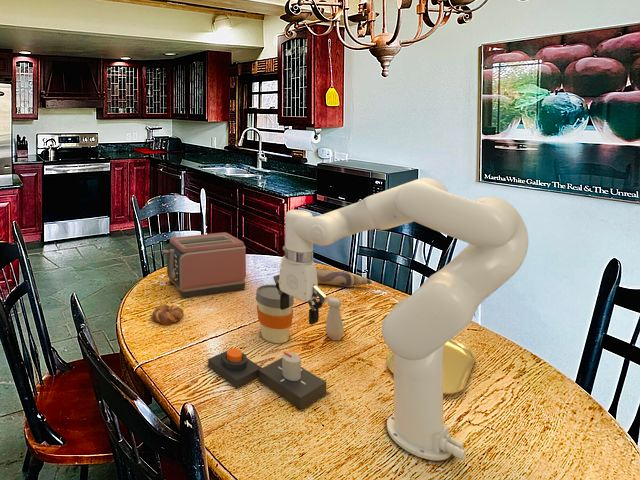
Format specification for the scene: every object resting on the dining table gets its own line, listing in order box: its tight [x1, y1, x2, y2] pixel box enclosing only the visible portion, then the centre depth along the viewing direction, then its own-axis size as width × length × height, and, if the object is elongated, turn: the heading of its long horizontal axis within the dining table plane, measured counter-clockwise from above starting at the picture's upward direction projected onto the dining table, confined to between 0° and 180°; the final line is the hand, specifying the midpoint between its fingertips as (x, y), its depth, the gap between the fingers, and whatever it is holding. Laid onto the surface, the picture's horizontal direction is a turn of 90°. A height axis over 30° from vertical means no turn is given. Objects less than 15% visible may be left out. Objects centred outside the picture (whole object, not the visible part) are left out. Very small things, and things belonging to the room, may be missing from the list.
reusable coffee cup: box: [255, 284, 295, 344], centre depth 135 cm, size 13×13×15 cm
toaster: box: [162, 231, 247, 299], centre depth 177 cm, size 19×36×21 cm, turn 107°
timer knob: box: [281, 351, 302, 381], centre depth 109 cm, size 5×5×5 cm
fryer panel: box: [258, 357, 327, 410], centre depth 109 cm, size 14×11×3 cm
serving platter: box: [385, 338, 476, 396], centre depth 119 cm, size 19×35×2 cm, turn 134°
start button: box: [226, 347, 243, 362], centre depth 116 cm, size 4×4×2 cm
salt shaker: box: [324, 296, 345, 341], centre depth 134 cm, size 6×6×13 cm
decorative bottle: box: [316, 267, 372, 289], centre depth 177 cm, size 26×8×7 cm, turn 71°
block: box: [207, 350, 262, 389], centre depth 116 cm, size 12×10×4 cm
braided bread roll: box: [151, 304, 184, 326], centre depth 148 cm, size 12×11×4 cm
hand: (298, 315), depth 112 cm, fingers open, 9 cm apart
